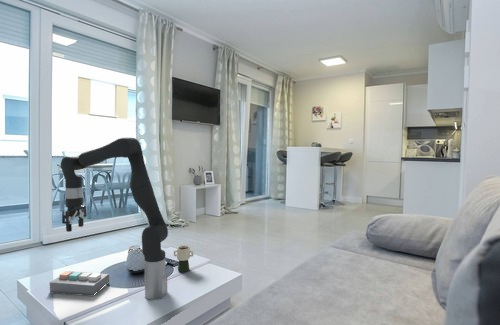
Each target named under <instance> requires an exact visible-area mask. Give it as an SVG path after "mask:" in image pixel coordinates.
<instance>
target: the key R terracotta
mask: <svg viewBox="0 0 500 325" xmlns="http://www.w3.org/2000/svg"><path fill="white" fill-rule="evenodd" d="M72 272H73V271H71V272H68V271H63V272H62V273H60V274H59V276H58V277H59V278H60V279H66V280H67V279H68V278H69V275H70V274H72Z"/></svg>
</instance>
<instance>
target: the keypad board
mask: <svg viewBox="0 0 500 325" xmlns="http://www.w3.org/2000/svg"><path fill="white" fill-rule="evenodd" d="M67 272H72V273H74V272H75V271H67ZM81 272H82V274H83V273H88V272H83V271H81ZM90 273H91V275H92V274H93V273H94V272H90ZM97 273H98V272H97ZM98 274H101V278H100V279H98V280H97V281H96V282H95V281H88V280H87V281H82V280H79V279H77V280H69V278H68V279H67V280H66V279H60V278H59V276H58V277H56V278H55V279H53V280H51V281H49V293H50V294H61V295H73V294H82V295H81V296H86V295H94V294H95V293H96V292H98V291H99V290H100V289H101V288H102V287H103V286H104V285H105V284H107V283H108V282H109V283H110V274H109V273H98ZM99 292H100V291H99ZM99 292H98V293H99ZM94 296H95V295H94Z"/></svg>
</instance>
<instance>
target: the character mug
mask: <svg viewBox="0 0 500 325" xmlns="http://www.w3.org/2000/svg"><path fill="white" fill-rule="evenodd" d="M173 256H174V257H176V258H177V261H178V264H177V265H178V266H177V271H179V272H180V273H181V272H182V273H184V272H186V271H187V272H188V271H190V264H189V260H190V258H191V257H192V258H193V257H194V251H193V250H191V246H189V245H179V246H177V247H176V250H173Z"/></svg>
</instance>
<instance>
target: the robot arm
mask: <svg viewBox="0 0 500 325" xmlns="http://www.w3.org/2000/svg"><path fill="white" fill-rule="evenodd" d="M112 158H113V159H115V158H123V159H124V158H127V159H128V162H129V165H130V170H131V173H130V180H129V187H130V191H131V195H132V197H133V201H134V202H135V204H136V205H137V206H138V207H139V208H140V209H141V210H142V212H143V213H144V214H145V215H146V218H147V221H148V226H146V227H144V229H143V230H142V232H141V233H142V234H141V252H142V255H143V256H144V297H145V299H148V300H159V299H163V298H164V297H165V295H167V293H168V272H167V270H166V269H167V268H166V252H165V250H163V249H162V242H163V241H165V240H166V239H167V238H168V236H169V230H168V226H167V223H166V222H165V219H164V217H163V215H162V212H161V210H160V208H159V204H158V201H157V199H156V194H155V192H154V188H153V186H152V185H153V184H152V183H151V180H150V177H149V173H148V170H147V166H146V164H145V159H144V154H143V150H142V146H141V142H139V140H138V139H137V138H134V137H120V138H118V139H115V140H113V141H112V142H110V143H108V144H106V145H103V146H101V147H97V148H95V149H91V150H87V151H85V152H82V153H80V154H79V155H69V156H68V155H67V156H64V157H62V158H61V161H60V168H61V171H62V174H63V177H64V182H65V183H64V184H65V191H64V195H65V196H64V197H65V198H64V199H65V203H64V204H65V207H66V208H67V210H63V211H61V212H62V213H61V214H62V215H61V220H62V221H61V223H62V224H64V225H65V231H66V232H67V233H70V232H72V229H73V226H72V222H73V220H74V219H75V218H77V220H78V221H77V222H78V226H77V227H81V228H82V227H84V219H85V218H86V217H87V205H84V190H83V178H82V176H81V175H78V174H76V172H75V171H79V170H83V169H86V168H88V167H91V166H95V165H98V164H101V163H103V162H104V161H106V160H109V159H112Z"/></svg>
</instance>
